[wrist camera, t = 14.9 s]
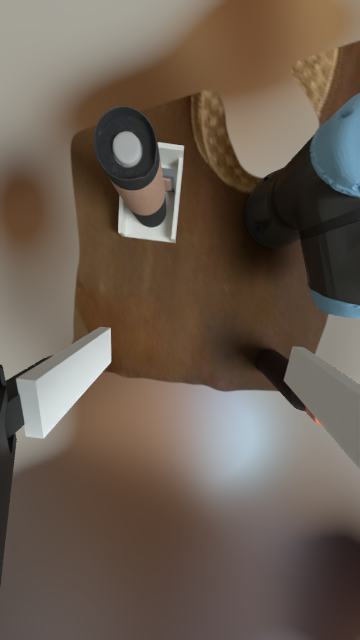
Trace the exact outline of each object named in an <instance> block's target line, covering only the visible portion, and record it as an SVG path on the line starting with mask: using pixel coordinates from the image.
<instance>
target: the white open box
mask: <svg viewBox="0 0 360 640" xmlns="http://www.w3.org/2000/svg"><path fill="white" fill-rule="evenodd" d="M158 148H159V154H160V161H161V167H162V168H167V169H174V179H175V189H174V192H167V191H165V194H166V206H167V213H166V217H165V219H164V221H163V222H162V223H161V224H160V225H159V226H157V227H153V228H150V227H146V226H144V225H142V224H141V223H140V222H139V221H138V220H137V218H136V217H135V216H134V214H133V213H132V212H131V211H130V209H129V208H128V207H127V205H126V204H125V202H124V201H123V199H122V198H121V196H119V221H118V233H119V234H121V235H122V236H123V237H130V238H139V239H147V240H155V241H163V242H171V243H175V240H176V230H177V221H178V211H179V201H180V191H181V181H182V171H183V156H184V146H182V145H174V144H167V143H160V142H158Z"/></svg>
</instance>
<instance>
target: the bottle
mask: <svg viewBox="0 0 360 640" xmlns="http://www.w3.org/2000/svg"><path fill="white" fill-rule="evenodd" d="M288 363H289V360H288V359H287V358H285V357H284V356H283V355H281V354H280V353H278V352H276V351H273V350H269V351H265V352H263V353H262V354H261V355H260V356H259V358H258V361H257V366H258V368H259V370H260V371H261V372H262V373H263V374H264V375H265V376H266V377H267V378H268V380H269V381H270V382H271V383H272V384H273V385H274V386H275V387H276V388H277V389H278V390H279V391H280V392H281V394H282V395H283V396H284V397H285V398H286V399H287V400H288V401H289V402H290V403H291V404H292V405H293V406H294V407H295V408H296V409H299V410H301V411H306V412H307V414H308V415H309V416H310V417H311V418H312V419H313V420H314V421H315V422H316V423H317V424H318V425H320V426H322V425H321V423H320V422H319V421H318V420H317V419H316V418H315V416H314V415H313V414H312V413H311V412H310V411H309V409H308V408H307V407H306V406H305V405H304V404H303V402H302V401H301V400H300V399H299V398H298V396H297V395H296V394H295V393H294V392H293V391H292V389H291V388H290V387H289V386H288V385H287V384H286V382H285V381H284V378H285V374H286V370H287V366H288Z"/></svg>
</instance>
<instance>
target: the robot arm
mask: <svg viewBox="0 0 360 640" xmlns="http://www.w3.org/2000/svg"><path fill="white" fill-rule="evenodd" d="M244 220H245V225H246V228H247V231H248V233H249V235H250V236H251V237H252V238H253V240H254V241H256V242H257V243H258V244H260V245H262V246H265V247H268V248H280V247H283V246H286V245H289V244H292V243H294V242H296V241H297V240H299V239H300V240H301V246H302V252H303V257H304V262H305V267H306V272H307V278H308V283H307V284H308V288H309V290H310V291H311V295H312V299H313V302H314V304H315V306H317V307H318V308H319V309H320V310H322V311H324V312H326V313H328V314H332V315H336V316H342V317H349V318H360V93H358V94H357V95H355V96H354V97H352V98H351V99H350V100H349V101H348V102H346V103H345V104H344V105H343V106H342V107H341V108H340V109H339V110H338V111H337V112H336V113H335V114H334V115H333V116H332V117H331V118H329V119H328V120H326V121H325V122H324V124H322V125H321V126H320V127H319V128H318V130H317V131H316V133H315V135H313V137H312V138H311V139H310V140H309V141H308V142H307V143H306V144H305V145H304V147H303V148H302V149H301V150H300V151H299V152H298V153H297V154H296V155H295V156H294V157H293V158H292V160H291V161H290V162H289V163H288V164H287V165H286V166H285V167H284V168H282V169H280V170H277V171H275V172H273V173H271V174H269V175H267V176H266V177H264V178H263V179H262V180H261V181H260V182H259V183H258V184H257V185H256V187H255V188H254V189H253V190H252V192H251V193H250V195H249V197H248V199H247V202H246V205H245V210H244ZM110 363H111V328H106V327H99V328H98V329H96V330H94V331H93V332H91V333H90V334H88V335H86V336H85V337H83V338H81V339H80V340H78V341H76V342H75V343H73V344H72V345H70V346H68V347H67V348H65V349H63V350H62V351H60V352H58V353H57V354H55V355H52V356H50V357H47V358H44V359H42V360H40V361H39V362H37V363H35V365H32V366H30V367H29V368H28V369H25V370H24V371H22V372H20V373H19V374H17V375H15V376H13V377H12V378H10V379H8V380H6V381H5V377H4V371H3V367H2V365H0V584H1V576H2V567H3V558H4V548H5V540H6V531H7V522H8V513H9V503H10V494H11V484H12V476H13V466H14V457H15V449H16V440H17V439H16V434H15V433H16V432H17V431H18V430H19V429H20V428H21V427H22V426H23V425H24V428H25V434H26V436H28V437H36V438H45V436H46V435H47V434H48V433H49V432H50V431H51V430H52V428H53V427H54V426H55V425H56V424H57V423H58V422H59V421H60V419H61V418H62V417H63V416H64V415H65V414H66V413H67V411H68V410H69V409H70V408H71V407H72V406H73V405H74V404H75V402H76V401H77V400H78V399H79V398H80V397H81V396H82V394H83V393H84V392H85V391H86V390H87V389H88V388H89V386H90V385H91V384H92V383H93V382H94V381H95V380H96V379H97V377H98V376H99V375H100V374H101V373H102V372H103V371H104V369H105V368H106V367H107V366H108V365H109V364H110ZM284 381H285V382H286V384H287V385H288V386H289V387H290V388H291V389H292V391H293V392H294V393H295V394H296V395H297V396H298V398H299V399H300V400H301V401H302V402H303V404H304V405H305V406H306V407H307V408H308V409H309V411H310V412H311V413H312V414H313V415H314V416H315V418H316V419H317V420H318V421H319V422H320V423H321V425H322V426H323V427H324V428H325V429H326V430H327V432H328V433H329V434H330V435H331V436H332V437H333V438H334V440H335V441H336V442H337V443H338V444H339V446H340V447H341V448H342V449H343V450H344V451H345V452H346V454H347V455H348V456H349V457H350V458H351V459H352V460H353V462H354V463H355V464H356V465H357V467H358V468H359V469H360V385H359V384H358V383H356V382H355V381H353V380H352V379H350V378H349V377H347V376H346V375H344V374H343V373H341V372H340V371H338V370H337V369H335V368H334V367H332V366H331V365H329V364H328V363H326V362H325V361H323V360H322V359H320V358H319V357H317V356H316V355H314V354H313V353H311V352H310V351H308V350H307V349H305V348H304V347H294V346H293V348H292V352H291V355H290V359H289V363H288V366H287V370H286V374H285V378H284Z"/></svg>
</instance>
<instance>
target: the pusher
mask: <svg viewBox="0 0 360 640" xmlns="http://www.w3.org/2000/svg"><path fill="white" fill-rule="evenodd" d="M162 173H163V179H164V185H165V191H167V192H174V189H175V179H174V169H167V168H162Z"/></svg>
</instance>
